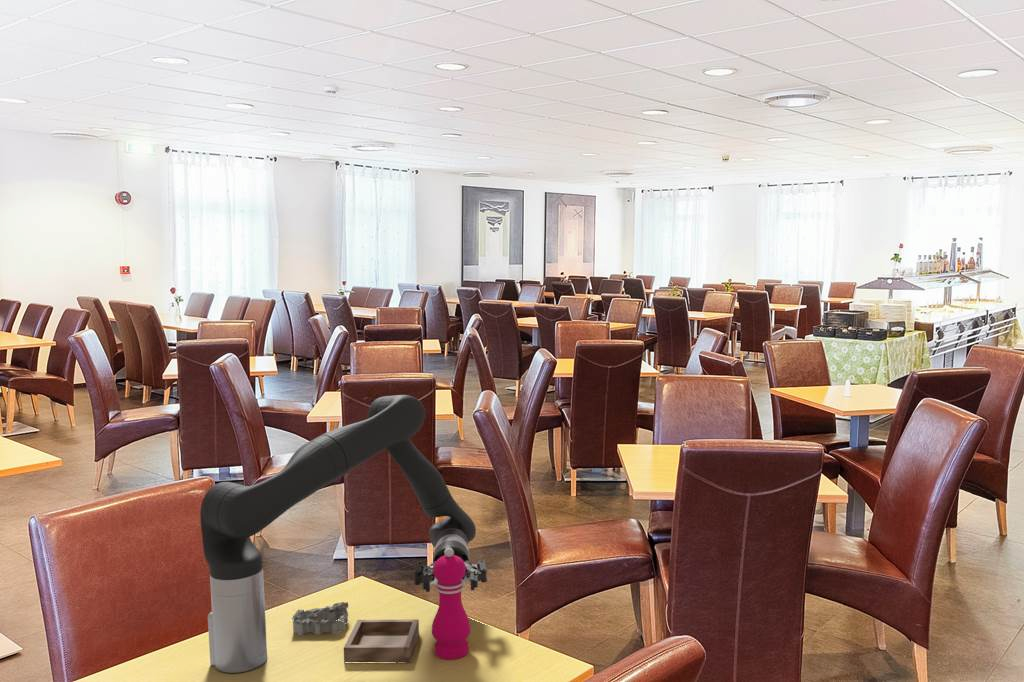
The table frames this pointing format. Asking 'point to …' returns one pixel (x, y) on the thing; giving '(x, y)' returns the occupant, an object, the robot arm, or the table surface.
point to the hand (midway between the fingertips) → (450, 586)
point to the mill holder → (382, 641)
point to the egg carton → (321, 619)
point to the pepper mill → (450, 608)
